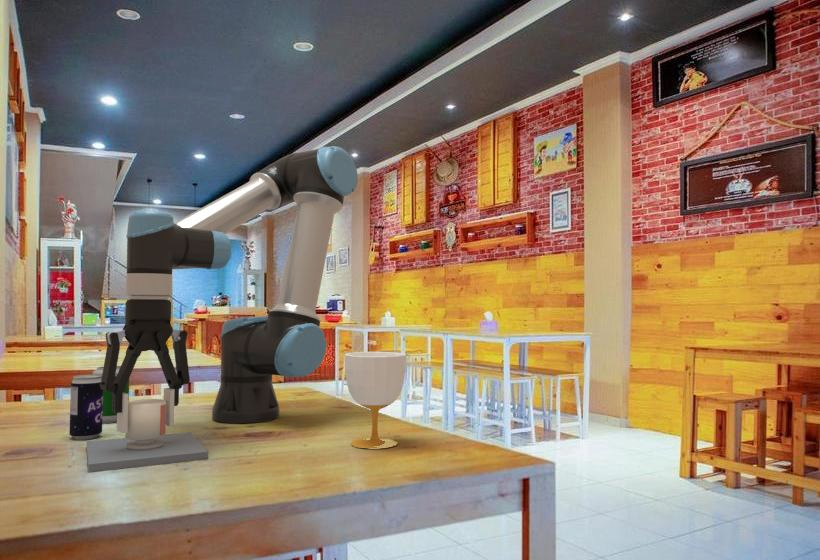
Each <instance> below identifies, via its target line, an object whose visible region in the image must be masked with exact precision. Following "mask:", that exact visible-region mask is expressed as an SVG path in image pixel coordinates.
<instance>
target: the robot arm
mask: <svg viewBox="0 0 820 560" xmlns="http://www.w3.org/2000/svg"><path fill="white" fill-rule="evenodd" d="M358 175H359V174H358V169H357V166H356V164H355V162H354V159H353V158H352V156H351V155H350V154H349V152H348V151H346V150H345V149H344V148H342V147H340V146H335V145H334V146H333V145H332V146H321V147H319V148H316V149H311V150H306V151H301V152H294V153H290V154H288V155H285V156H283V157H281V158H279V159H277V160H276V161H274V162H272V163H271V164H269V165H267V166H266V167H264V168H262V169H261V170H259V171H257V172H255V173H253V174H252V175H251V176H250V178H249V181H248V182H246V183H244V184H243V185H241V186H239V187H237V188H236V189H234V190H231V191H230V192H228V193H226V194H224V195H222V196H220V197H219V198H217V199H215V200H214V201H212V202H210V203H208V204H206V205H204V206H202V207H201V208H199V209H196V210H195V211H193V212H192V213H190V214H188V215H187V216H184V217H183V218H180V219H179V220H177V221H175V222H174V216H173V215H172V214H171V213H169V212H166V211H158V210H135V211H133V212H131V213H130V215H128V221H127V222H128V223H127V229H126V230H127V231H126V240H127V241H126V242H127V243H126V276H125V278H126V285H125V295H126V296H127V297H129V299H127V300H126V301H125V313H124V314H125V316H124V320H125V321H124V322H125V323H124V327H123V328H122V329H121V330H117V331H114V332H113V331H108V332H106V333H105V341H106V345H107V347H106V352H105V358H104V363H103V366H104V368H103V374H102V379H101V385H100V388H101V389H102V390H105V391H109V392H111V393H112V411H113V412H114V413H117V422H116V431H117V432H119V433H125V434H126V432H127V430H128V394H127V393H123V392H124V390H125V387H126V385H127V382H128V380H129V381H130V378H131V375H132V372H133V370H134V368H135V365H136V363H137V360H138V359H139V357H140V356H141V354H142V352H147V351H153V352H154V354H155V355H156V357H157V360H158V363H159V365H160V367H161V370H162V373H163V376H164V378H165V381H166V383H167V386H168V387H164V388H163V400H166V421H165V426H168V427H173V426H174V425H175V407H178V406H179V403H180V401H179V400H180V389H182V388H183V386H184V385H188V384H190V382H191V379H190V371H189V370H190V369H189V362H188V355H187V354H188V352H187V339H188V331H187V330H183V329H174V328H173V326H172V323H171V322H172V321H171V320H172V301H171V299H169V297H172V296H173V289H172V288H173V270H187V269H188V270H189V269H190V270H191V269H204V270H205V269H206V270H220V269H224V268H225V267H226V266H227V265H228V264H229V262H230V260H231V257H232V242H231V239H230V237H229V236H228V235H227V234H229V233H230V232H233V231H234V230H235V229H237V228H238V227H240V226H241V225H244V224H245V223H246V222H248V221H249V220H252V219H253V218H255V217H257V216H258V215H260V214H261V213H263V212H264V211H266V210H267V211H268V210H269V211H274V210H276V209H278V208H279V207H281V206H283V205H287V204H290V203H295V204H296V205H297V209H296V214H295V220H294V222H293V223H294V225H293V228H292V229H293V230H292V234H291V238H290V243H289V248H288V252H287V256H286V257H287V258H286V261H285V266H284V272H283V276H282V280H281V284H280V285H281V286H280V291H279V294H278V300H277V304H276V305H275V306H274V307H272V308H271V309H269V310H268V312H267V316H248V317H246V316H245V317H237V318H232V319H228V320H226V321H225V322H223V324H222V326H221V333H220V334H221V335H220V343H221V344H220V385H219V386H220V387H219V388H218V392H217V395H216V397H215V400H214V402H213V406H212V409H211V416H212V417H211V420H212V421H215V422H218V423H226V424H227V423H230V424H248V423H249V424H250V423H252V424H253V423H259V422H262V423H263V422H267V421H272V420H275V419H278V418H279V417H280V404H279V401H278V398H277V394H276V391H275V388H274V386H273V376H277V377H278V376H281V377H285V378H302V377H308V376H309V375H312V373H313V372H315V371H316V370H317V369H318V368H319V367H320V366H321V365H322V362H323V361H324V358H325V357H326V352H327V339H326V338H325V332H324V331H323V329H322V328H321V327H320V325H321V319H320V317H319V315H317V312H316V309H317V305H318V300H319V295H320V289H321V284H322V281H323V274H324V271H325V270H324V269H325V263H326V258H327V254H328V249H329V243H330V239H331V233H332V228H333V224H334V223H333V222H334V219H335V218H334V217H335V214H337V213H338V212H340V211H341V210H343V205H344V200H345V197H347V196H349V195H351V194H352V193H354V192H355V190H356V189H357V186H358V181H359V180H358V178H359V177H358ZM170 337H171V339H172V341H173V352H174V362H175V366H174V363H173V360H172V358H171V356H170V350H169V346H168V345H167V341H169V339H170ZM123 338H125V340H126V341H127V342H128V343H129V344H128V346H127V349H126V351H125V355H124V357H123V361H122V363H121V365H120V366H121V367H120V369H119V372H118V374H117V376H116V379H115V374H116V368H117V366H118V362H119V361H118V360H119V356H120V349H121V344H122V343H123ZM114 379H115V381H114Z"/></svg>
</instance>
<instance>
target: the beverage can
mask: <svg viewBox="0 0 820 560" xmlns="http://www.w3.org/2000/svg"><path fill="white" fill-rule="evenodd" d="M101 377H102V376H101V375H93V374H80V375H75V376H73V379H72V381H71V383H70V400H69V401H70V405H69V408H70V409H69V431H68V432H69V433H68V434H69V436H70V437H72V438H73V440H76V441H78V440H79V441H82V440H85V441H86V440H87V441H88V440H92V439H93V440H94V439H97V438H98V437H99V435H101V433H103V423H102V418H103V390H102V389H101V388H100V385H101V379H102V378H101Z"/></svg>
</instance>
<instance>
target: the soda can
mask: <svg viewBox="0 0 820 560" xmlns="http://www.w3.org/2000/svg"><path fill="white" fill-rule="evenodd" d="M120 367H121V365H117V368H116V374H115V379H116V376H117V374H118V372H119V369H120ZM103 368H104V365H103V366H97V367H96V369H95V370H93V371H92V375H101V376H102V374H103ZM101 378H102V377H101ZM115 379H114V381H115ZM123 393H127V394H128V402H129V401H130V379H129V380H128V382H127V385H126V387H125V390H124V392H123ZM114 422H115V423H117V413H114V412H113V411H112V393H111V392H109V391H105V390H103V418H102V424H113V423H114ZM115 423H114V424H115Z"/></svg>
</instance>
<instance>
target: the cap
mask: <svg viewBox="0 0 820 560" xmlns="http://www.w3.org/2000/svg"><path fill="white" fill-rule="evenodd" d="M165 421H166V400H164V399H161V398H147V399H145V398H142V399H134V400H129V402H128V430H127V432H126V433H125V438H126V439H129V440H149V439H156V438H160V437H163V436H165V434H166V425H165Z"/></svg>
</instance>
